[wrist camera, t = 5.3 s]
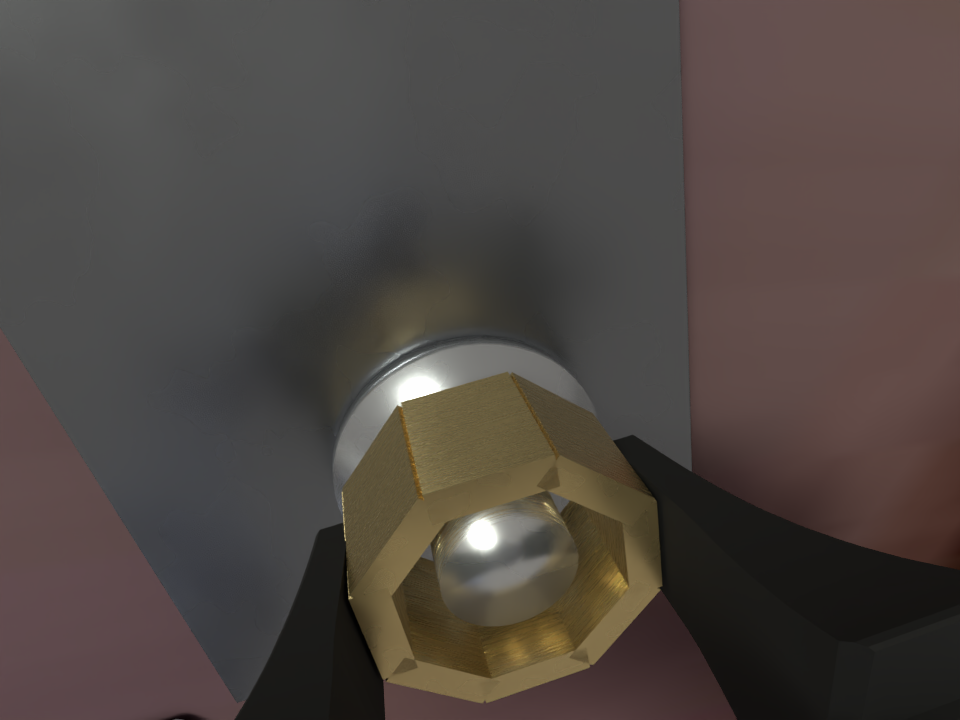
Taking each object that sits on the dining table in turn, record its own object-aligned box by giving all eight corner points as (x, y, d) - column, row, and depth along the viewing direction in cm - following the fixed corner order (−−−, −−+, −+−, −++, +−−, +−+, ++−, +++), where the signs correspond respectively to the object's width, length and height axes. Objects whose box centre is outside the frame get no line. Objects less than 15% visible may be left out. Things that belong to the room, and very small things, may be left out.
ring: (610, 543, 16) (666, 640, 14) (389, 615, 16) (405, 731, 13) (587, 349, 14) (651, 425, 11) (316, 426, 13) (317, 527, 10)
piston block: (675, 526, 21) (775, 665, 16) (241, 665, 19) (219, 863, 15) (634, -334, 11) (864, -592, 6) (-269, -187, 9) (-814, -385, 5)
